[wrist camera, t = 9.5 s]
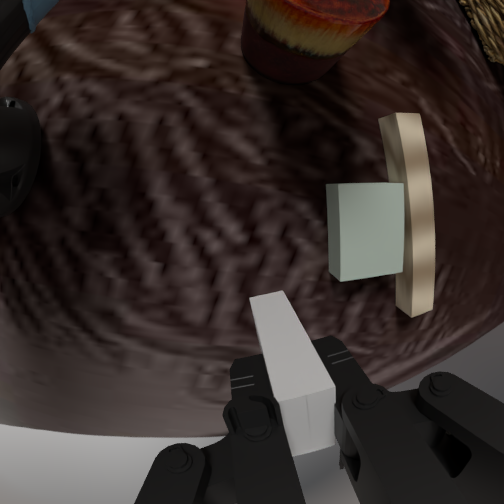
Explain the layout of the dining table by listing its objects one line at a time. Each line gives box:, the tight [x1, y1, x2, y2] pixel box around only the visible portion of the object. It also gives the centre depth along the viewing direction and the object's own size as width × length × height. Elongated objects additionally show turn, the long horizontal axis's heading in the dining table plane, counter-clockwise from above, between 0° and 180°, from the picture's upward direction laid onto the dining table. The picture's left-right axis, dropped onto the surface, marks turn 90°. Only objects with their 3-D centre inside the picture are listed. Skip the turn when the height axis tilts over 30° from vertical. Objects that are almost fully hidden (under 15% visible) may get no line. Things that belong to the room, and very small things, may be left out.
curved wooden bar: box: [378, 113, 435, 318], centre depth 30 cm, size 24×4×4 cm, turn 11°
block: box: [326, 183, 404, 282], centre depth 30 cm, size 10×8×4 cm
